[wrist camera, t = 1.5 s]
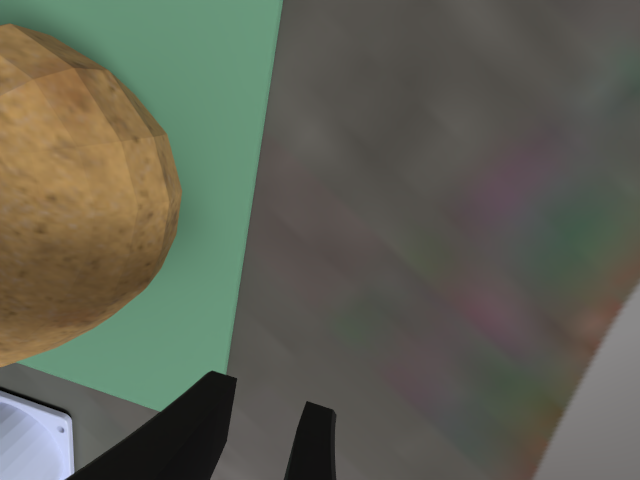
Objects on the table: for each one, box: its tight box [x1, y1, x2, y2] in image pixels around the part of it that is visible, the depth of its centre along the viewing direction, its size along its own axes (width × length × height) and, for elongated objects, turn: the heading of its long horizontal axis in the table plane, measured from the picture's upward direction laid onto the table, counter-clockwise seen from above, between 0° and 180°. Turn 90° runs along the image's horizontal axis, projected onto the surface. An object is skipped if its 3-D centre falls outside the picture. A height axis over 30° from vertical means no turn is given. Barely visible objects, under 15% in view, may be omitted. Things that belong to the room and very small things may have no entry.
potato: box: [0, 24, 182, 367], centre depth 15 cm, size 10×14×8 cm
